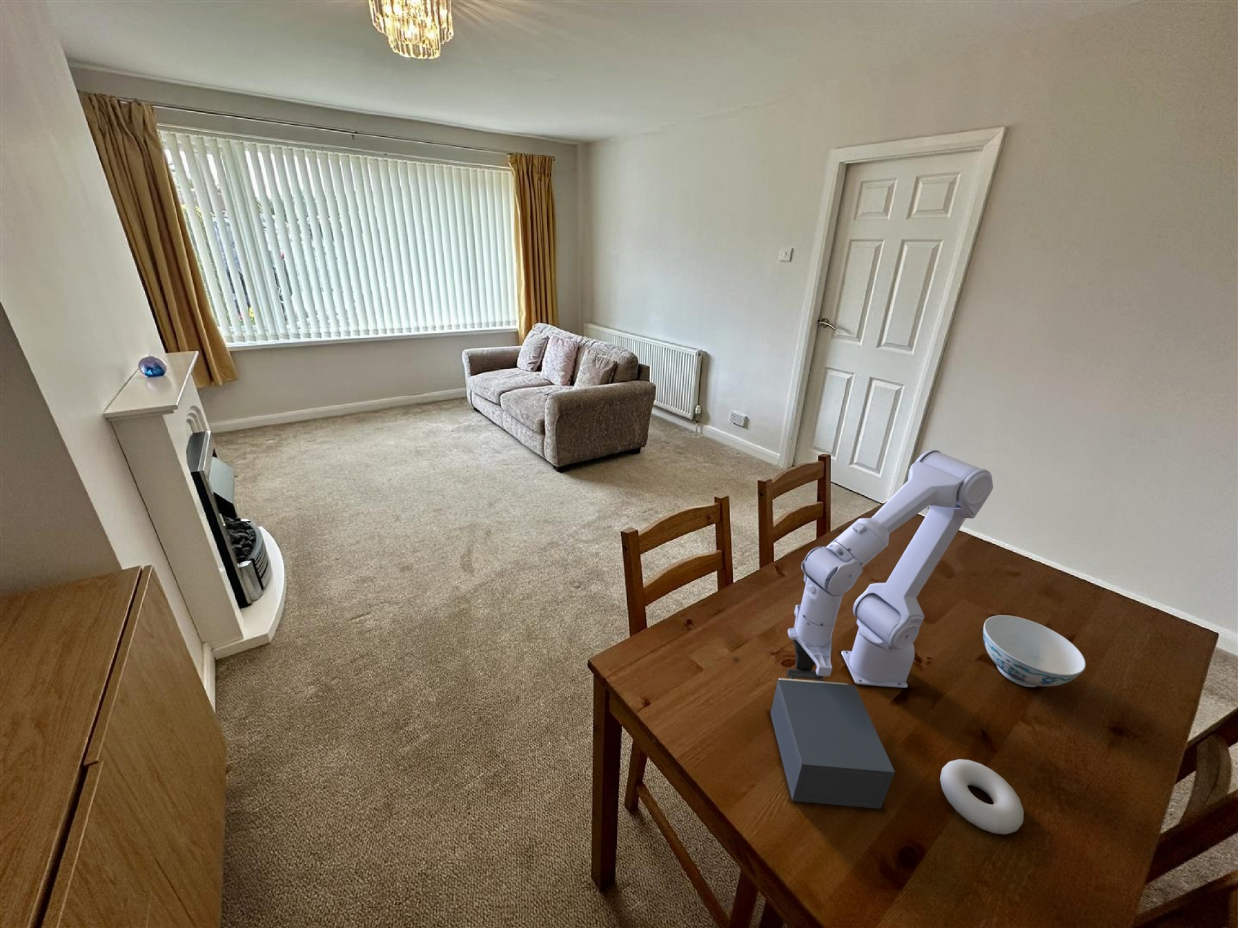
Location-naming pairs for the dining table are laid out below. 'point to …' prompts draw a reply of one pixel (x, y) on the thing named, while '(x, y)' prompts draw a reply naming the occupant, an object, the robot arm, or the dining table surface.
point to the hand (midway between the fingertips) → (802, 672)
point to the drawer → (806, 676)
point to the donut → (988, 817)
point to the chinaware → (1031, 652)
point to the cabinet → (829, 745)
